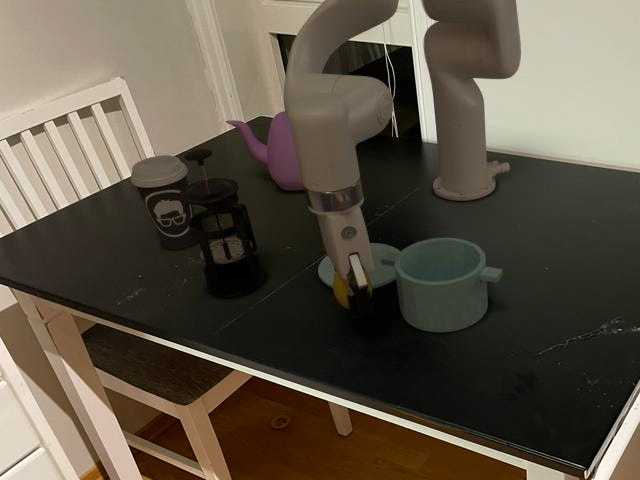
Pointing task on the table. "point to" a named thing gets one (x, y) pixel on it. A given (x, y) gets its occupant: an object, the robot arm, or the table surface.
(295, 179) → the teapot
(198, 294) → the table surface
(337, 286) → the lemon
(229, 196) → the french press
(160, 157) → the coffee cup
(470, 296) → the pot
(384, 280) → the lid
